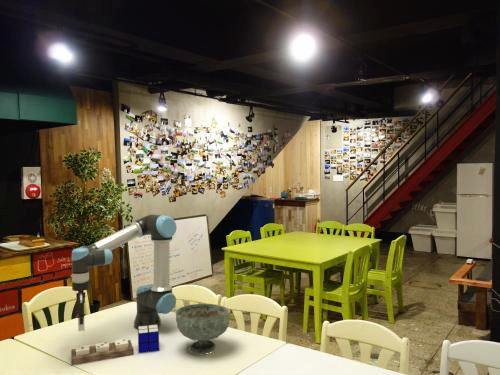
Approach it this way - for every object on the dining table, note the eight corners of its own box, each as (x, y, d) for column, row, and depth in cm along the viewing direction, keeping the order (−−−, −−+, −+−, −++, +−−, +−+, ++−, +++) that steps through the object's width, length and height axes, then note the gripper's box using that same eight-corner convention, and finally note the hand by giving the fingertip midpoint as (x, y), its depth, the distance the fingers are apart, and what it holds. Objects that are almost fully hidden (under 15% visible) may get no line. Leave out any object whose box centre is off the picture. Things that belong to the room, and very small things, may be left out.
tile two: (127, 344, 216) (126, 338, 216) (128, 348, 210) (128, 342, 210) (114, 346, 213) (114, 340, 213) (115, 350, 208) (115, 344, 208)
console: (130, 345, 219) (130, 339, 219) (133, 354, 208) (133, 348, 208) (71, 355, 208) (71, 349, 208) (71, 365, 197) (71, 359, 197)
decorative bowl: (165, 355, 206) (166, 314, 206) (188, 336, 231) (189, 299, 230) (216, 364, 198) (218, 321, 198) (234, 343, 223) (236, 305, 222)
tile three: (108, 347, 212) (108, 341, 212) (109, 351, 207) (109, 345, 207) (95, 349, 210) (95, 343, 210) (96, 354, 204) (96, 347, 204)
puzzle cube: (138, 353, 210) (138, 333, 209) (138, 345, 219) (137, 326, 219) (159, 351, 212) (158, 331, 212) (158, 343, 222) (157, 324, 222)
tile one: (88, 350, 209) (88, 344, 209) (89, 355, 203) (89, 349, 203) (75, 352, 206) (75, 346, 206) (75, 357, 201) (75, 351, 201)
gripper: (72, 278, 208) (72, 326, 209) (72, 285, 196) (73, 336, 197) (88, 277, 211) (89, 324, 212) (89, 283, 199) (90, 333, 200)
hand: (81, 330), depth 204 cm, fingers closed
